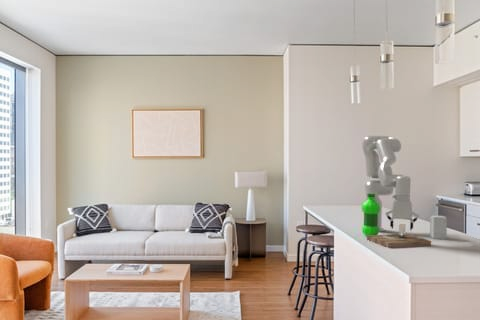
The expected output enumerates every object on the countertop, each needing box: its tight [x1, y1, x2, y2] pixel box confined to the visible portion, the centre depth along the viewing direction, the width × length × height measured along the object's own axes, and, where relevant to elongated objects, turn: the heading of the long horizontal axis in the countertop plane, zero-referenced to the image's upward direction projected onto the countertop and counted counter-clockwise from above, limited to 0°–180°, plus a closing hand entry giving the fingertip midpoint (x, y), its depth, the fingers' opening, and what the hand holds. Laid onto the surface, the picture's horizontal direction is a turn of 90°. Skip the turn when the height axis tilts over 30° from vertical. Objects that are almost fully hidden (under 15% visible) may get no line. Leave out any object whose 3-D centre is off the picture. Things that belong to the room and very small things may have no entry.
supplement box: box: [429, 215, 448, 240], centre depth 239 cm, size 7×7×13 cm
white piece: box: [398, 222, 406, 237], centre depth 225 cm, size 3×13×7 cm, turn 156°
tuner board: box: [366, 233, 432, 249], centre depth 225 cm, size 20×26×3 cm
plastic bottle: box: [361, 193, 380, 237], centre depth 241 cm, size 10×10×25 cm
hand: (401, 228), depth 228 cm, fingers open, 9 cm apart
